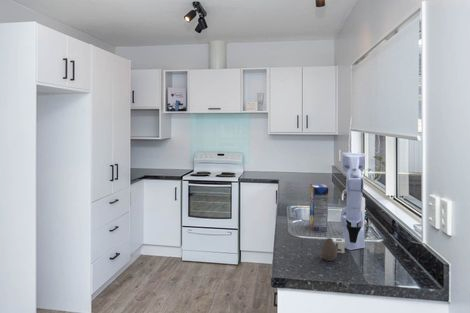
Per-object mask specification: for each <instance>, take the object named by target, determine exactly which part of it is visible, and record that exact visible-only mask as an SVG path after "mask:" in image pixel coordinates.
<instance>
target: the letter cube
mask: <svg viewBox="0 0 470 313" xmlns="http://www.w3.org/2000/svg"><path fill="white" fill-rule="evenodd" d="M332 240H333V242H334V244H335V245H336V247H337V254H345V249H346V248H345V239H343V238H337V237H333V238H332Z"/></svg>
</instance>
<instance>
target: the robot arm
mask: <svg viewBox="0 0 470 313" xmlns="http://www.w3.org/2000/svg"><path fill="white" fill-rule="evenodd" d="M365 161H366V154H365V153H364V152H362V153H360V152H358V153H357V152H343V153H342V170H343V171H344V172H346V174H347V175H346V180H345V181H346V182H345V191H346V206H345V207H344V208H341V211H340V220H339V221H340V226H341V227H342V239H345V249H347V250H349V251H352V250H358V249H364V248H366V246H365V229H364V230H363V229H362V227H363V212H362V211H361V202H362V196H363V192H364V184H365V183H364V178H363V176H362V172H363V171H364V168H365V164H366V163H365Z"/></svg>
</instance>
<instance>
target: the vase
mask: <svg viewBox="0 0 470 313" xmlns="http://www.w3.org/2000/svg"><path fill="white" fill-rule="evenodd" d="M319 249H320V250H319V251H320V253H319V254H320V256H321V258H322V260H325V261H327V262H332V261H335V260H336V259H337V257H338V256H337V255H338V253H337V247H336V245H335V244H334V242H333V238H331V237H327V238H326V239H324V241H323V243H322V244H321V245H320V248H319Z"/></svg>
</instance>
